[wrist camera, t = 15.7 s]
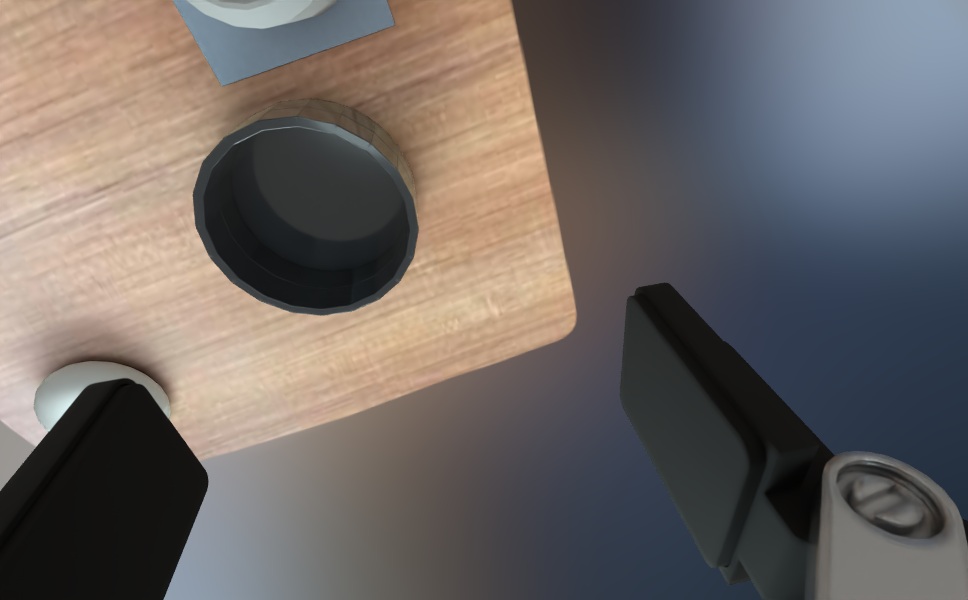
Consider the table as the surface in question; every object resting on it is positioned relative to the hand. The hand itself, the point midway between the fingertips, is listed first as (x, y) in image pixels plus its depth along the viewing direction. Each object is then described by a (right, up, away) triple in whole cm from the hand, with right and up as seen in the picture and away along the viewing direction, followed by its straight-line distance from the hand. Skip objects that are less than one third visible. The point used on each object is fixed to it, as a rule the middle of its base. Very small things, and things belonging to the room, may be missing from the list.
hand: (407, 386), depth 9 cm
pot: (-11, +10, +26) cm, 30 cm away
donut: (-32, -7, +33) cm, 47 cm away
